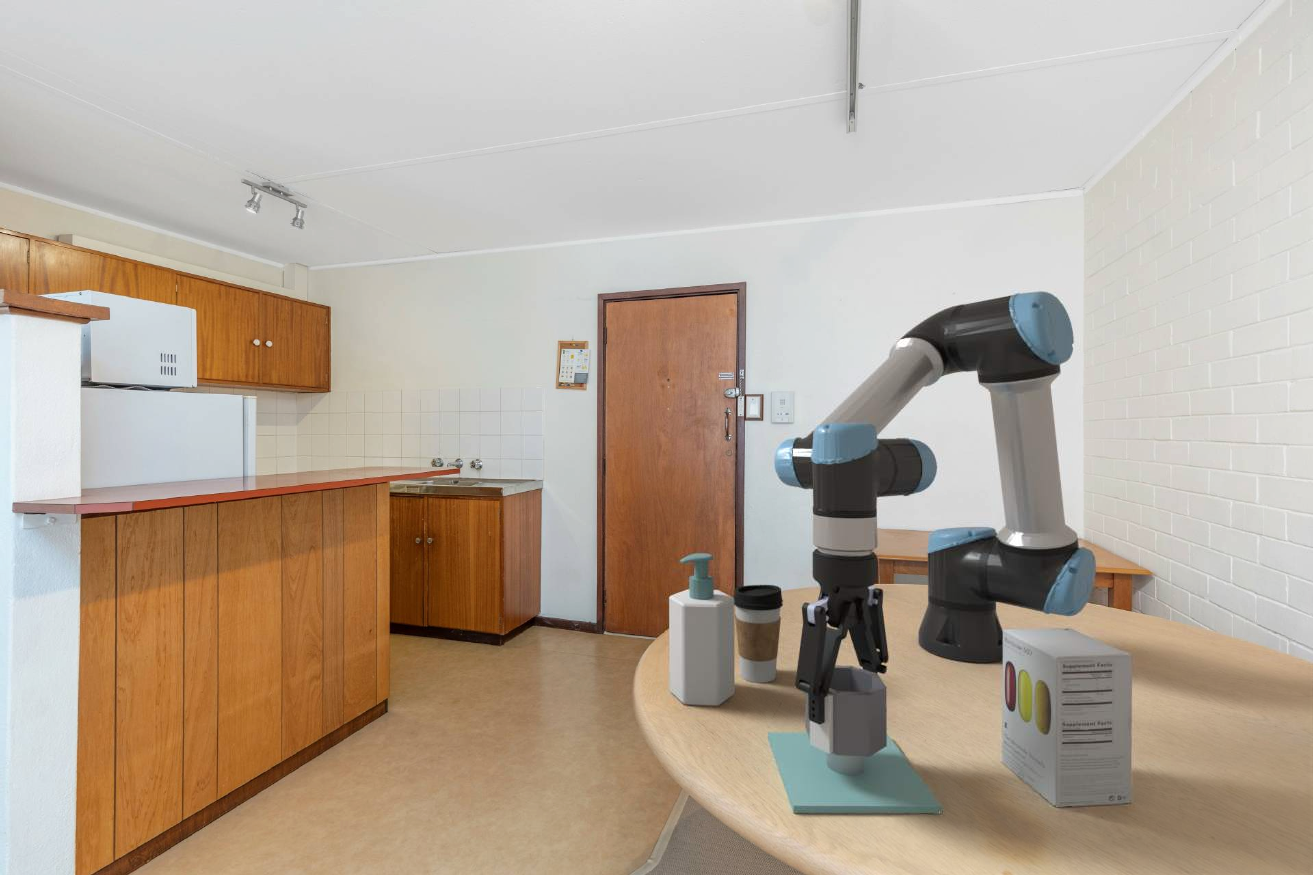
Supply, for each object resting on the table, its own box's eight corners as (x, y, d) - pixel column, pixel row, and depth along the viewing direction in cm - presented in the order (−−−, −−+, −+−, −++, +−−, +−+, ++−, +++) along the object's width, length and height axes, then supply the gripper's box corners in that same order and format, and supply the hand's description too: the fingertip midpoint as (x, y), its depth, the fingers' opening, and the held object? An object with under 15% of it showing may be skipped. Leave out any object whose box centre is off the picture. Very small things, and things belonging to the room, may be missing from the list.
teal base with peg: (886, 738, 80) (886, 687, 80) (941, 813, 64) (941, 750, 64) (767, 738, 80) (767, 687, 80) (793, 812, 64) (793, 750, 64)
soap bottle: (662, 685, 97) (662, 551, 97) (711, 676, 101) (711, 547, 101) (690, 712, 88) (690, 563, 88) (743, 701, 92) (743, 558, 92)
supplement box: (999, 761, 74) (998, 627, 74) (1068, 758, 75) (1067, 625, 75) (1057, 809, 65) (1056, 655, 65) (1135, 805, 66) (1135, 652, 66)
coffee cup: (783, 687, 96) (783, 595, 96) (731, 683, 98) (730, 593, 98) (783, 668, 105) (782, 583, 105) (734, 664, 106) (734, 580, 106)
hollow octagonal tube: (834, 712, 79) (834, 659, 79) (898, 739, 72) (897, 681, 72) (792, 734, 73) (792, 677, 73) (856, 764, 66) (856, 701, 66)
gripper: (865, 535, 82) (865, 699, 82) (761, 556, 68) (762, 752, 68) (918, 543, 76) (918, 719, 76) (816, 567, 63) (817, 781, 63)
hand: (844, 734), depth 72 cm, fingers closed on hollow octagonal tube, 9 cm apart
